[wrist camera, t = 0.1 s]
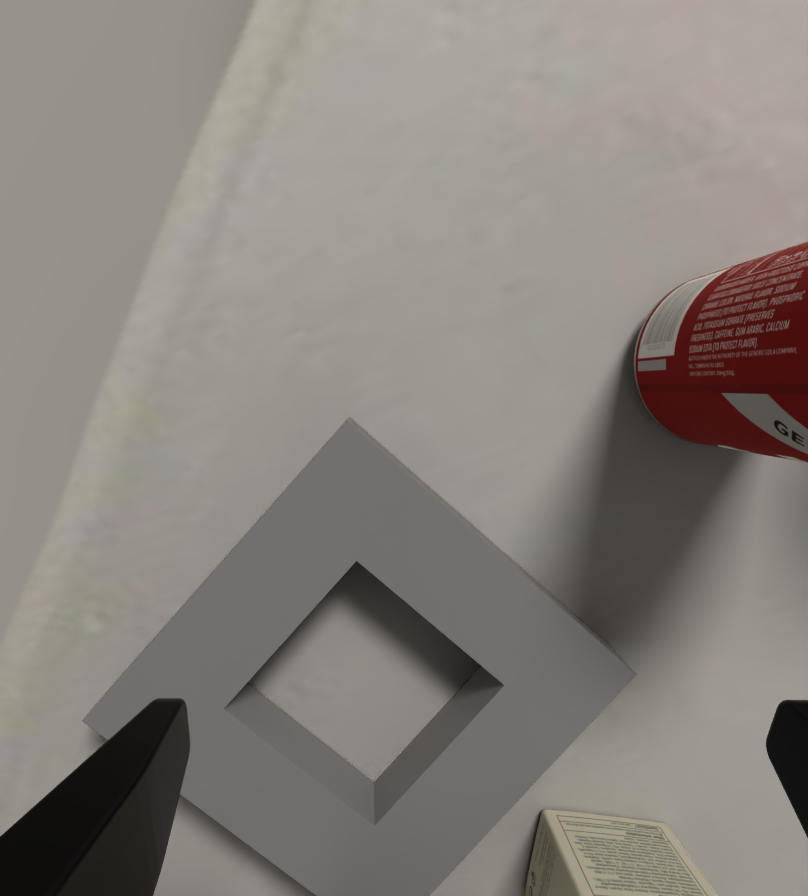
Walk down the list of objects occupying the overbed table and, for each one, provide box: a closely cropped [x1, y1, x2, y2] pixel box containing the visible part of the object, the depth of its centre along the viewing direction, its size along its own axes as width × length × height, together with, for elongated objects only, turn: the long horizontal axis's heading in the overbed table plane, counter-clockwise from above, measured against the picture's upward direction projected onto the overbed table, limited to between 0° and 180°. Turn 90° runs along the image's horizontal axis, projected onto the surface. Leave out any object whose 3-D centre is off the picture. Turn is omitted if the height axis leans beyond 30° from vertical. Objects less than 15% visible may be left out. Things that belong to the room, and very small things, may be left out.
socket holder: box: [82, 417, 636, 896], centre depth 23 cm, size 15×15×2 cm
